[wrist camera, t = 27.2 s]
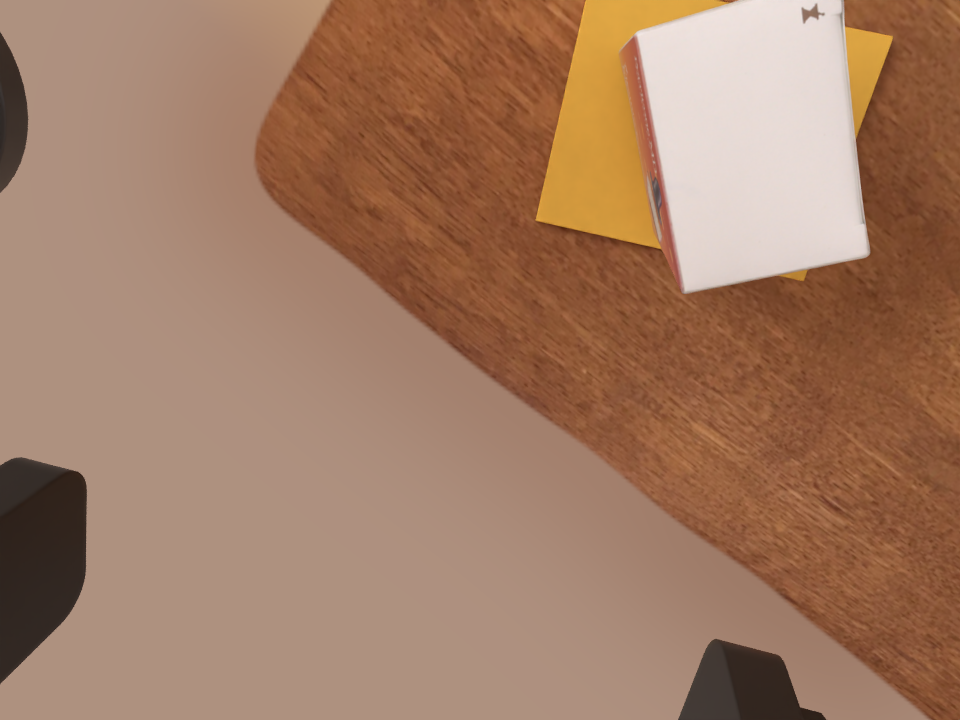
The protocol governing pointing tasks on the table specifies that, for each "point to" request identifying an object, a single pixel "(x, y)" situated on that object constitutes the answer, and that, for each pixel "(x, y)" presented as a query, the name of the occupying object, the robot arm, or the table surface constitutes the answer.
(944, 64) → the table surface
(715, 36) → the small box
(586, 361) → the table surface
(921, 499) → the table surface
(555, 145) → the ochre mat
